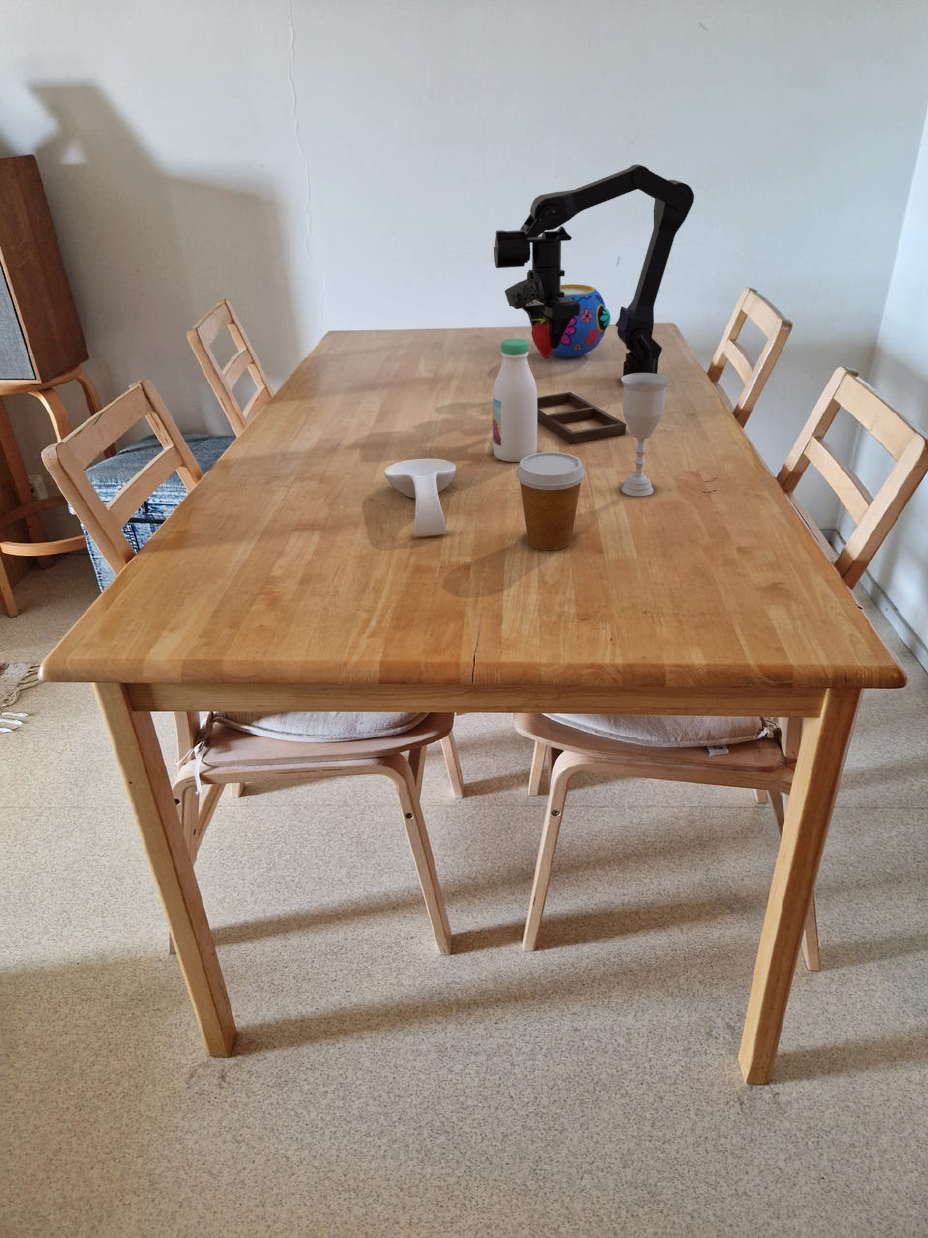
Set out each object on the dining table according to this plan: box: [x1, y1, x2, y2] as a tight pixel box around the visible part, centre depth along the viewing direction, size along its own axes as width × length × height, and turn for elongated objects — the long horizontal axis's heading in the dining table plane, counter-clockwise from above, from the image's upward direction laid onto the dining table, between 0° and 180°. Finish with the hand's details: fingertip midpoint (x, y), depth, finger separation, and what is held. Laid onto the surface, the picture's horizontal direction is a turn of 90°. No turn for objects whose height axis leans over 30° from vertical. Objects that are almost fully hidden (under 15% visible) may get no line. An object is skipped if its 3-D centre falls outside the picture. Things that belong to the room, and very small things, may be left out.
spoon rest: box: [383, 458, 457, 537], centre depth 140 cm, size 24×12×7 cm, turn 8°
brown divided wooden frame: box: [537, 391, 627, 445], centre depth 173 cm, size 11×22×2 cm, turn 22°
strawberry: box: [530, 310, 554, 360], centre depth 186 cm, size 6×8×10 cm
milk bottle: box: [492, 338, 538, 463], centre depth 154 cm, size 8×8×20 cm
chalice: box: [620, 373, 671, 497], centre depth 140 cm, size 7×7×18 cm
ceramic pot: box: [551, 283, 611, 358], centre depth 210 cm, size 18×18×15 cm
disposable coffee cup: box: [516, 451, 586, 551], centre depth 127 cm, size 10×10×12 cm
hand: (545, 344), depth 187 cm, fingers closed on strawberry, 7 cm apart
